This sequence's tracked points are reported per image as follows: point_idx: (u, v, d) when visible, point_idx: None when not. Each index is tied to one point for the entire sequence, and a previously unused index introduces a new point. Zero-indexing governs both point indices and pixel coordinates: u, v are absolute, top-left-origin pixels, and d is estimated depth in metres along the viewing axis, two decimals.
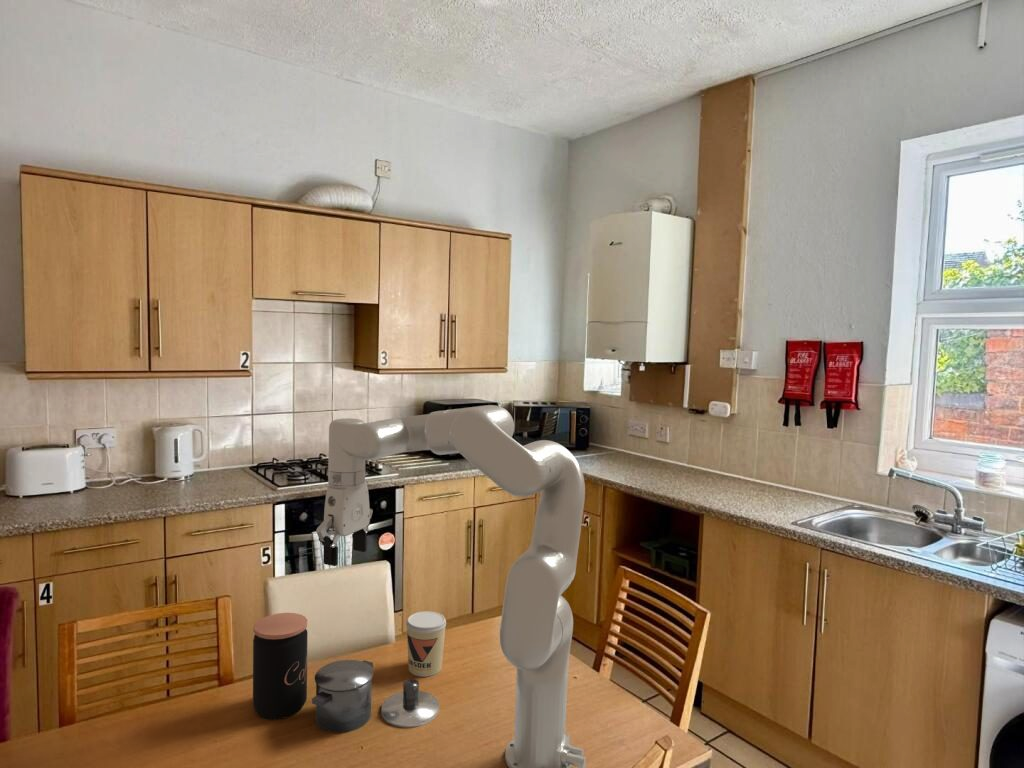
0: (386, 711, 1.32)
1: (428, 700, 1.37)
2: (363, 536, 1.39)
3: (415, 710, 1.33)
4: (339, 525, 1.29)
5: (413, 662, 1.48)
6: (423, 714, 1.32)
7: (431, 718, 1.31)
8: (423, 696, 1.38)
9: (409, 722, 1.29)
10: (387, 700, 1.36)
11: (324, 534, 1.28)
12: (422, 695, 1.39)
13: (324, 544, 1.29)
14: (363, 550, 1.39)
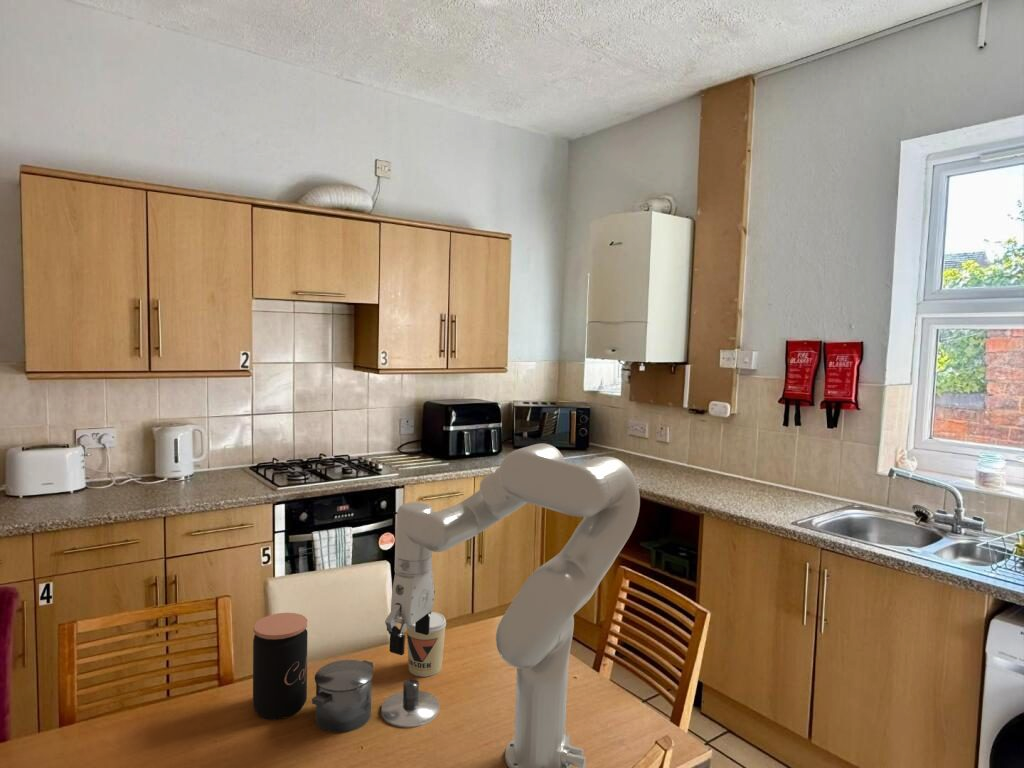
0: (386, 711, 1.32)
1: (428, 700, 1.37)
2: (426, 619, 1.37)
3: (415, 710, 1.33)
4: (407, 615, 1.28)
5: (413, 662, 1.48)
6: (423, 714, 1.32)
7: (431, 718, 1.31)
8: (423, 696, 1.38)
9: (409, 723, 1.29)
10: (387, 700, 1.36)
11: (393, 624, 1.26)
12: (422, 695, 1.39)
13: (392, 633, 1.28)
14: (426, 633, 1.37)
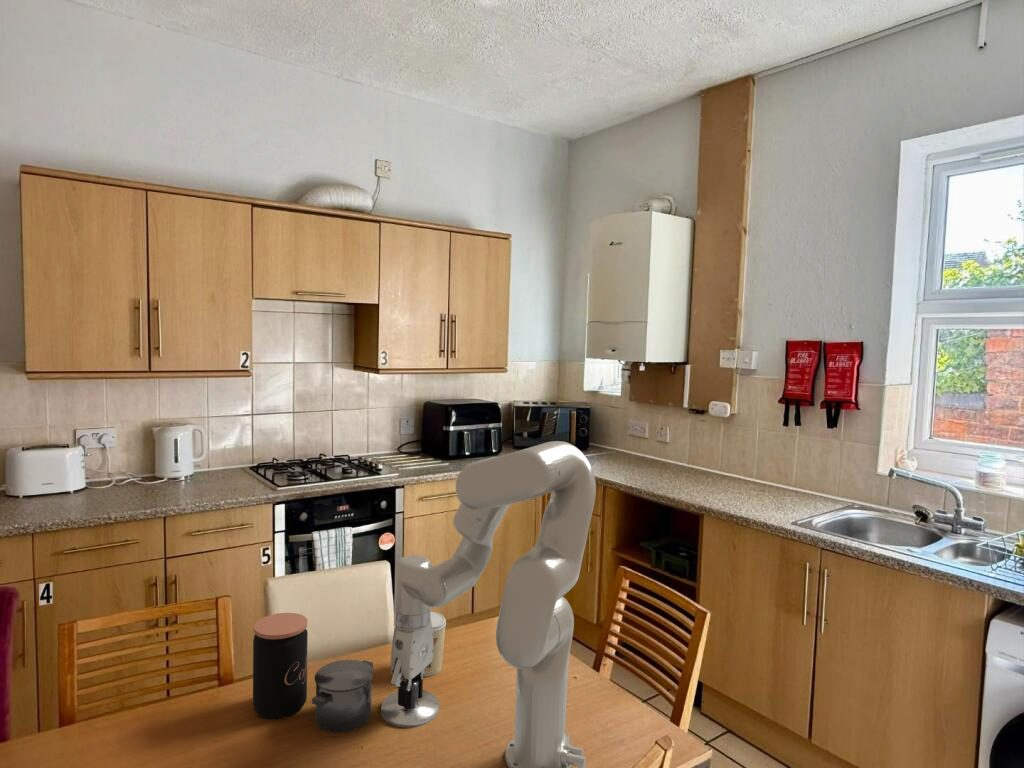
0: (386, 710, 1.32)
1: (427, 698, 1.37)
2: (419, 683, 1.35)
3: (415, 709, 1.33)
4: (407, 669, 1.28)
5: None
6: (423, 713, 1.32)
7: (431, 717, 1.31)
8: (423, 695, 1.38)
9: (409, 721, 1.29)
10: (387, 699, 1.36)
11: (399, 682, 1.29)
12: None
13: (400, 687, 1.31)
14: (419, 697, 1.35)
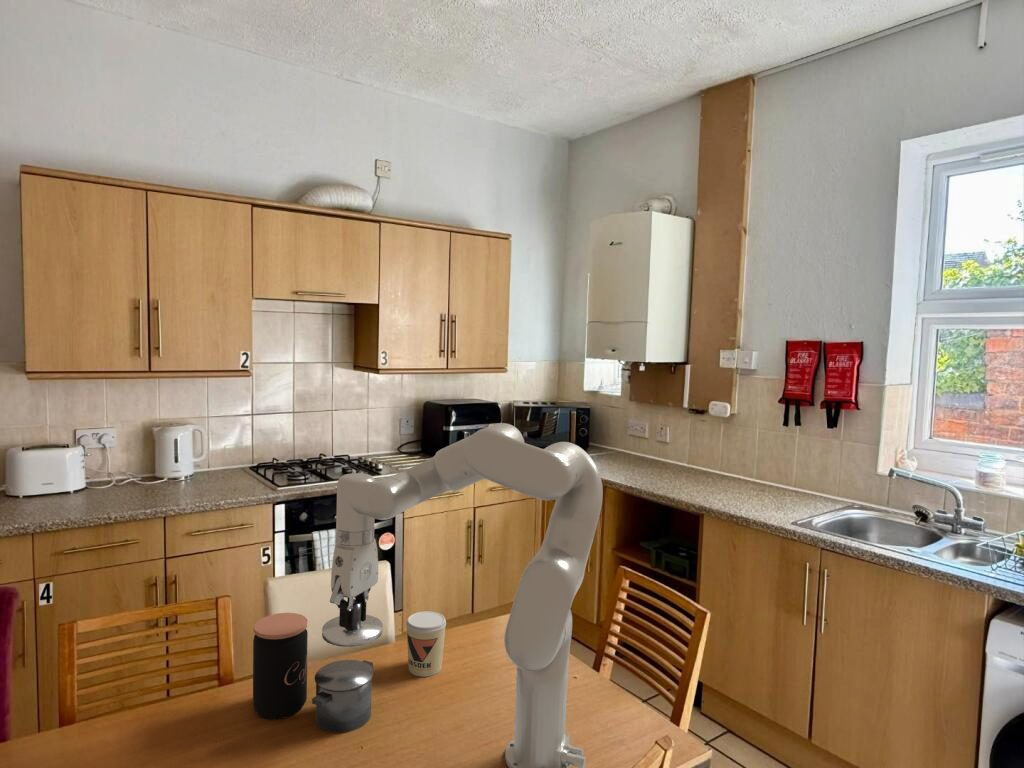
0: (326, 630, 1.28)
1: (371, 622, 1.33)
2: (362, 605, 1.31)
3: (356, 630, 1.29)
4: (347, 587, 1.24)
5: (413, 662, 1.48)
6: (364, 634, 1.28)
7: (372, 637, 1.27)
8: (367, 619, 1.34)
9: (348, 640, 1.25)
10: (330, 621, 1.32)
11: (339, 601, 1.25)
12: (367, 618, 1.35)
13: (340, 607, 1.27)
14: (362, 620, 1.31)
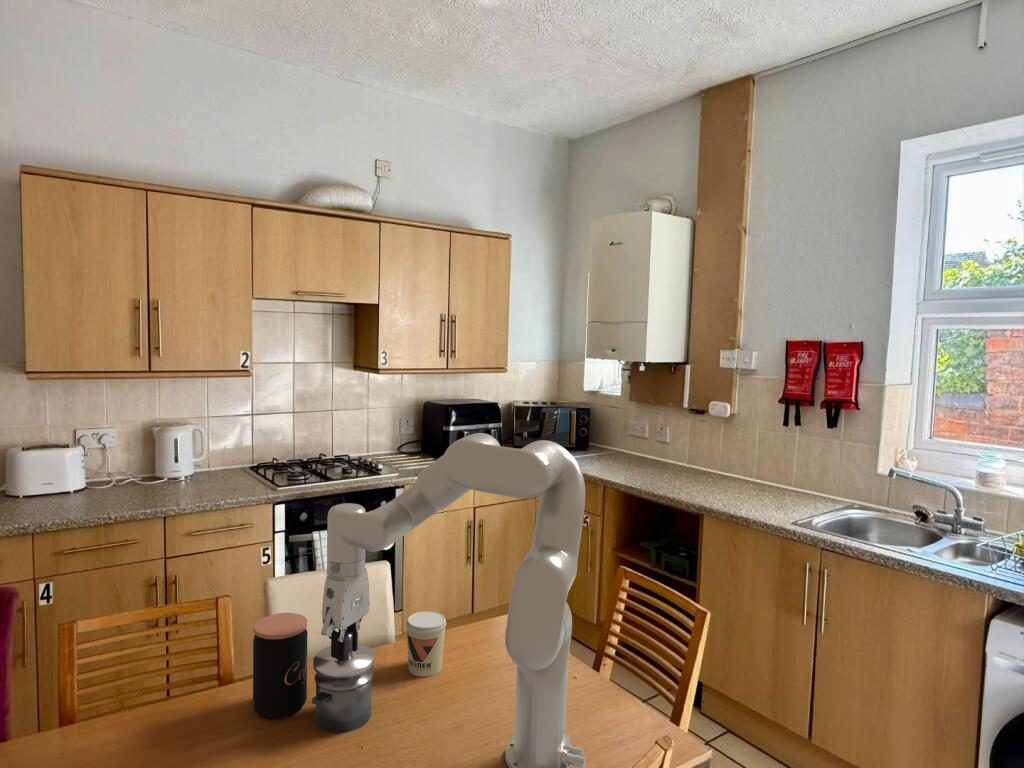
0: (318, 661, 1.28)
1: (363, 652, 1.33)
2: (354, 635, 1.31)
3: (348, 661, 1.29)
4: (338, 619, 1.24)
5: (413, 662, 1.48)
6: (355, 664, 1.28)
7: (363, 668, 1.27)
8: (359, 648, 1.34)
9: (340, 672, 1.25)
10: (321, 651, 1.32)
11: (330, 632, 1.25)
12: (358, 647, 1.35)
13: (332, 638, 1.27)
14: (354, 650, 1.31)
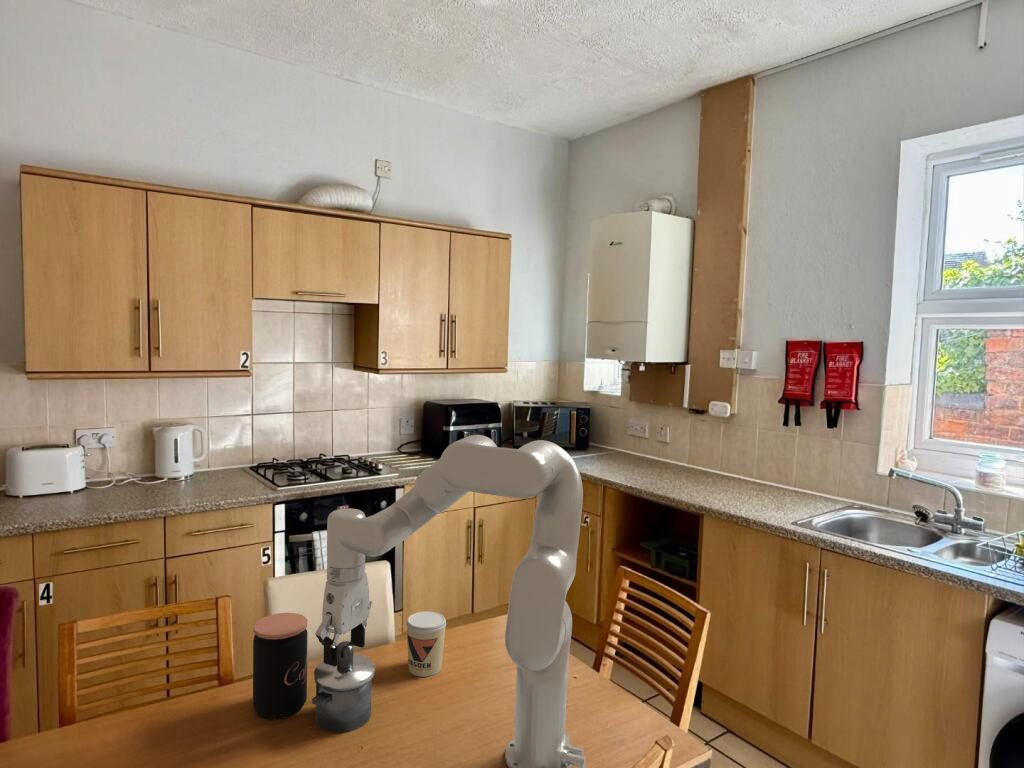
0: (319, 673, 1.29)
1: (364, 663, 1.33)
2: (361, 631, 1.33)
3: (349, 672, 1.29)
4: (338, 624, 1.25)
5: (413, 662, 1.48)
6: (356, 676, 1.28)
7: (364, 680, 1.27)
8: (360, 659, 1.34)
9: (341, 684, 1.25)
10: (322, 663, 1.32)
11: (324, 636, 1.23)
12: (359, 658, 1.35)
13: (324, 644, 1.25)
14: (361, 646, 1.34)
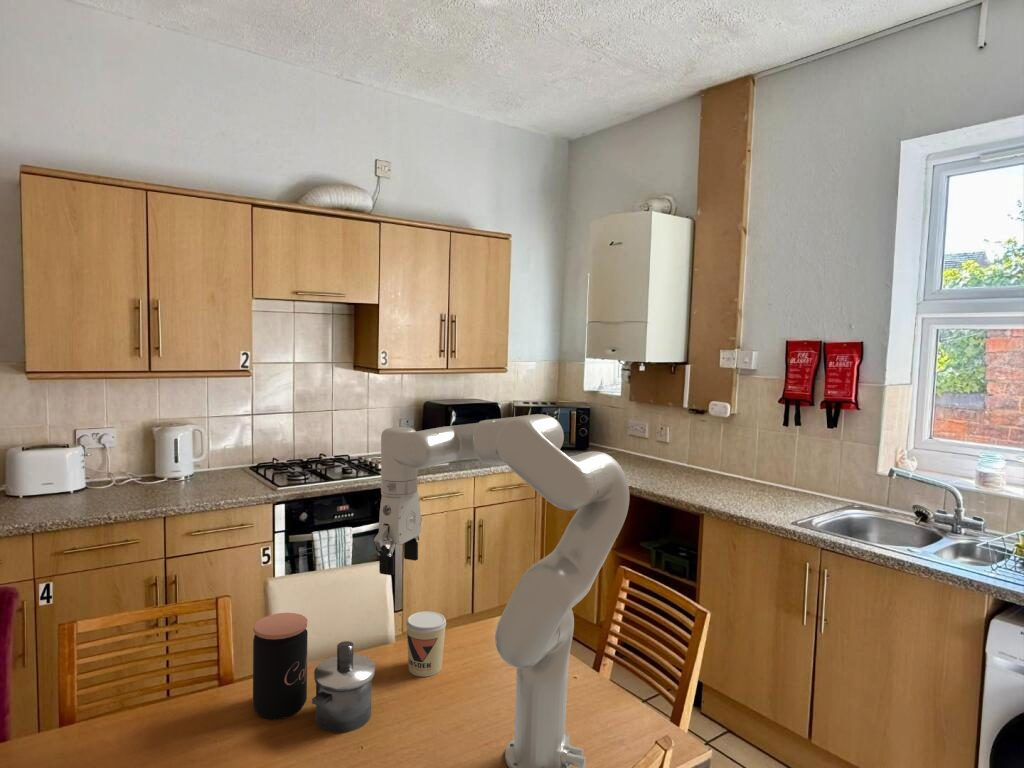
0: (319, 673, 1.29)
1: (364, 663, 1.33)
2: (415, 544, 1.39)
3: (349, 672, 1.29)
4: (395, 534, 1.29)
5: (413, 662, 1.48)
6: (356, 676, 1.28)
7: (364, 680, 1.27)
8: (360, 659, 1.34)
9: (341, 684, 1.25)
10: (322, 663, 1.32)
11: (382, 543, 1.27)
12: (359, 658, 1.35)
13: (381, 554, 1.29)
14: (415, 559, 1.39)
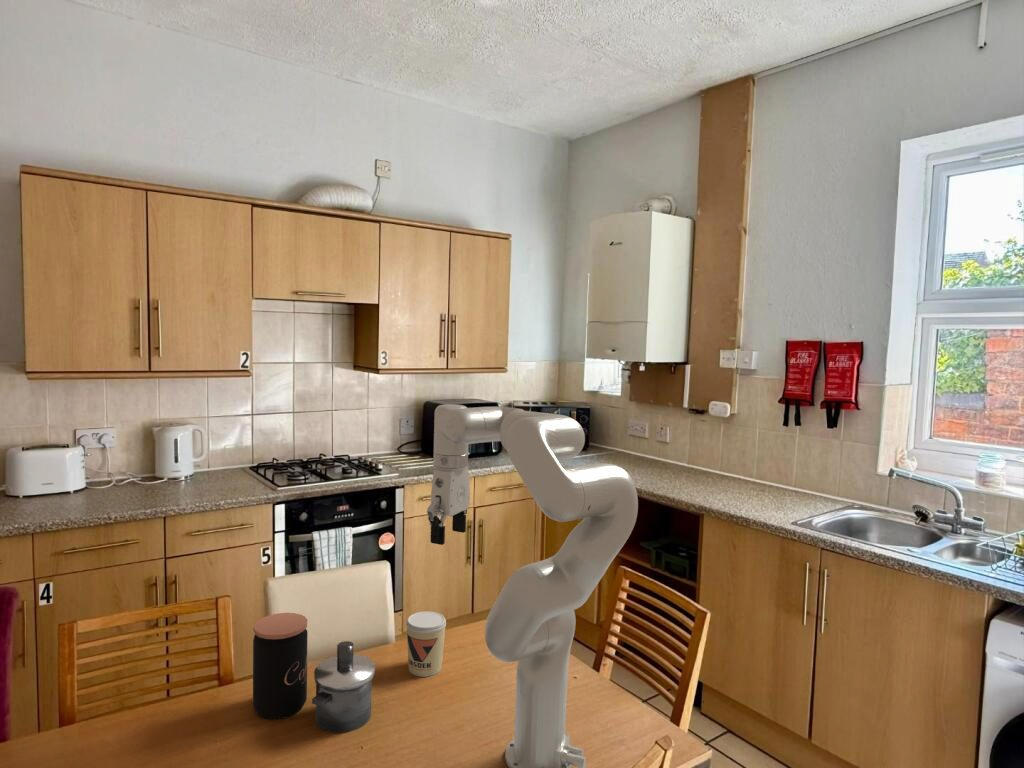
0: (319, 673, 1.29)
1: (364, 663, 1.33)
2: (463, 517, 1.45)
3: (349, 672, 1.29)
4: (447, 505, 1.35)
5: (413, 662, 1.48)
6: (356, 676, 1.28)
7: (364, 680, 1.27)
8: (360, 659, 1.34)
9: (341, 684, 1.25)
10: (322, 663, 1.32)
11: (434, 513, 1.34)
12: (359, 658, 1.35)
13: (433, 524, 1.35)
14: (463, 531, 1.45)
